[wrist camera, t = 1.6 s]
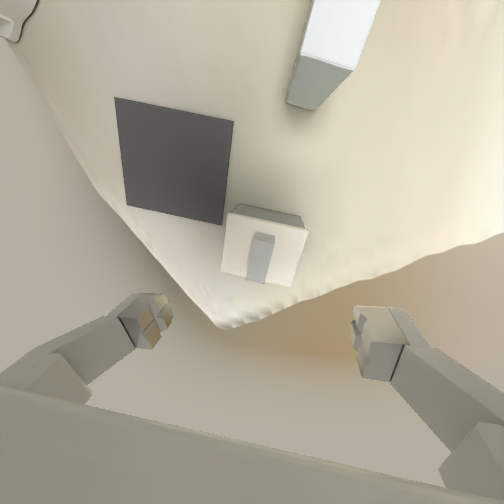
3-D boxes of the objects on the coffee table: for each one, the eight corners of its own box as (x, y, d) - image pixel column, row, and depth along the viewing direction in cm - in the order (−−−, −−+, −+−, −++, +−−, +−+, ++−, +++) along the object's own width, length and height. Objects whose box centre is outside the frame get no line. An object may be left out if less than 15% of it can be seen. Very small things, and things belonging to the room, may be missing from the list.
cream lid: (223, 264, 36) (214, 282, 31) (230, 210, 31) (222, 220, 26) (289, 279, 36) (291, 299, 31) (306, 226, 31) (312, 239, 26)
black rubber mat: (128, 204, 40) (126, 204, 40) (116, 98, 32) (114, 97, 32) (221, 224, 40) (221, 225, 39) (233, 121, 32) (232, 121, 31)
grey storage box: (232, 248, 42) (223, 267, 35) (239, 203, 37) (230, 214, 30) (286, 260, 42) (288, 282, 35) (300, 216, 37) (305, 230, 30)
